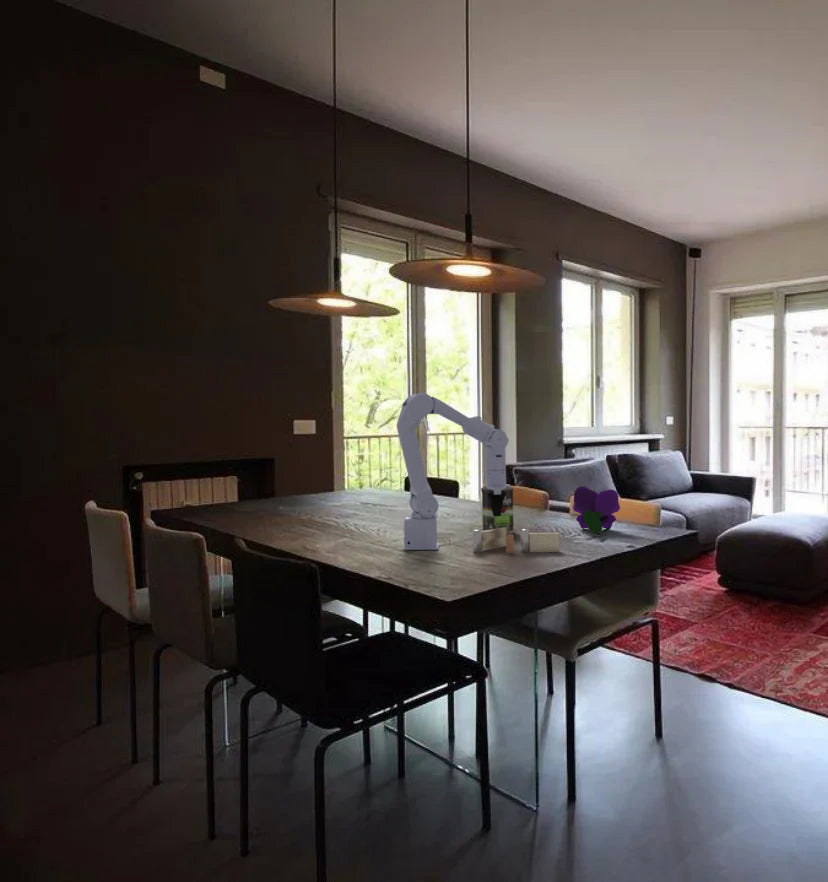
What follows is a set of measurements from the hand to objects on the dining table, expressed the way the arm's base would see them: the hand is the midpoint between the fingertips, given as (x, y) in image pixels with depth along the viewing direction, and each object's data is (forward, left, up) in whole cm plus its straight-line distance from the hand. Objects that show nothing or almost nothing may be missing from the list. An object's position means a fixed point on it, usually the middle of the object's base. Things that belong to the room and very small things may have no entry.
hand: (496, 515), depth 188 cm
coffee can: (+1, +17, -8) cm, 19 cm away
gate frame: (+4, -13, -8) cm, 16 cm away
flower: (+32, +14, -8) cm, 36 cm away
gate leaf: (-1, -9, -7) cm, 12 cm away
